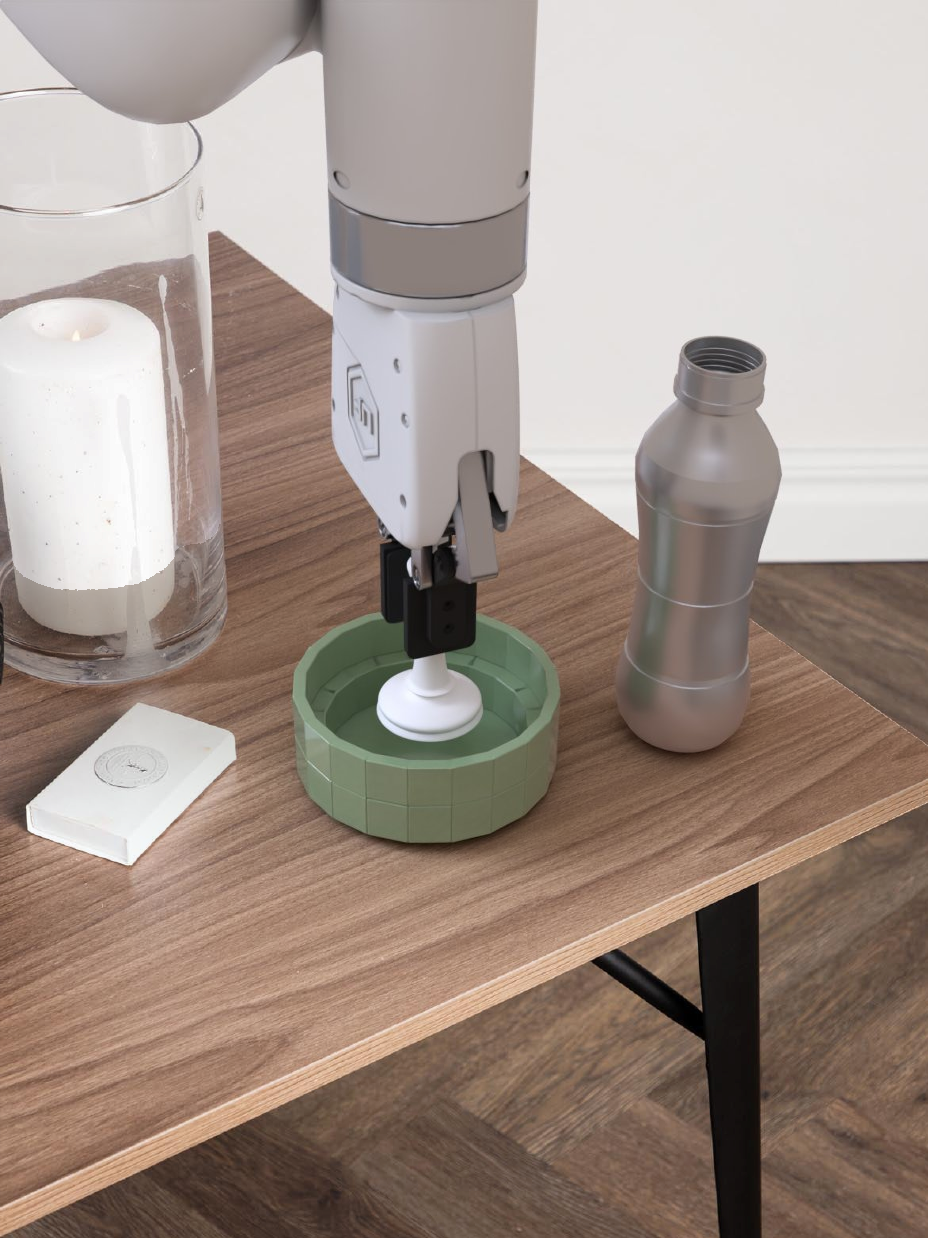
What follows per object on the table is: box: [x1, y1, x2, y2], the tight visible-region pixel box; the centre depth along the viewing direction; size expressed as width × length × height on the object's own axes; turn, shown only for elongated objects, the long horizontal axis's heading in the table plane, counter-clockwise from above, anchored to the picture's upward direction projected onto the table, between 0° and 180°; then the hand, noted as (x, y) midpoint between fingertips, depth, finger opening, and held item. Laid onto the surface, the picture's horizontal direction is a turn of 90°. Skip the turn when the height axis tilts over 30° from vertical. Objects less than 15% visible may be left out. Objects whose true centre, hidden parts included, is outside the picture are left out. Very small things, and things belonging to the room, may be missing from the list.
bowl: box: [292, 611, 562, 844], centre depth 80 cm, size 12×12×5 cm
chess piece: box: [377, 536, 483, 742], centre depth 76 cm, size 5×5×10 cm
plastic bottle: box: [614, 335, 783, 754], centre depth 78 cm, size 6×7×20 cm
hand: (427, 629), depth 76 cm, fingers closed on chess piece
